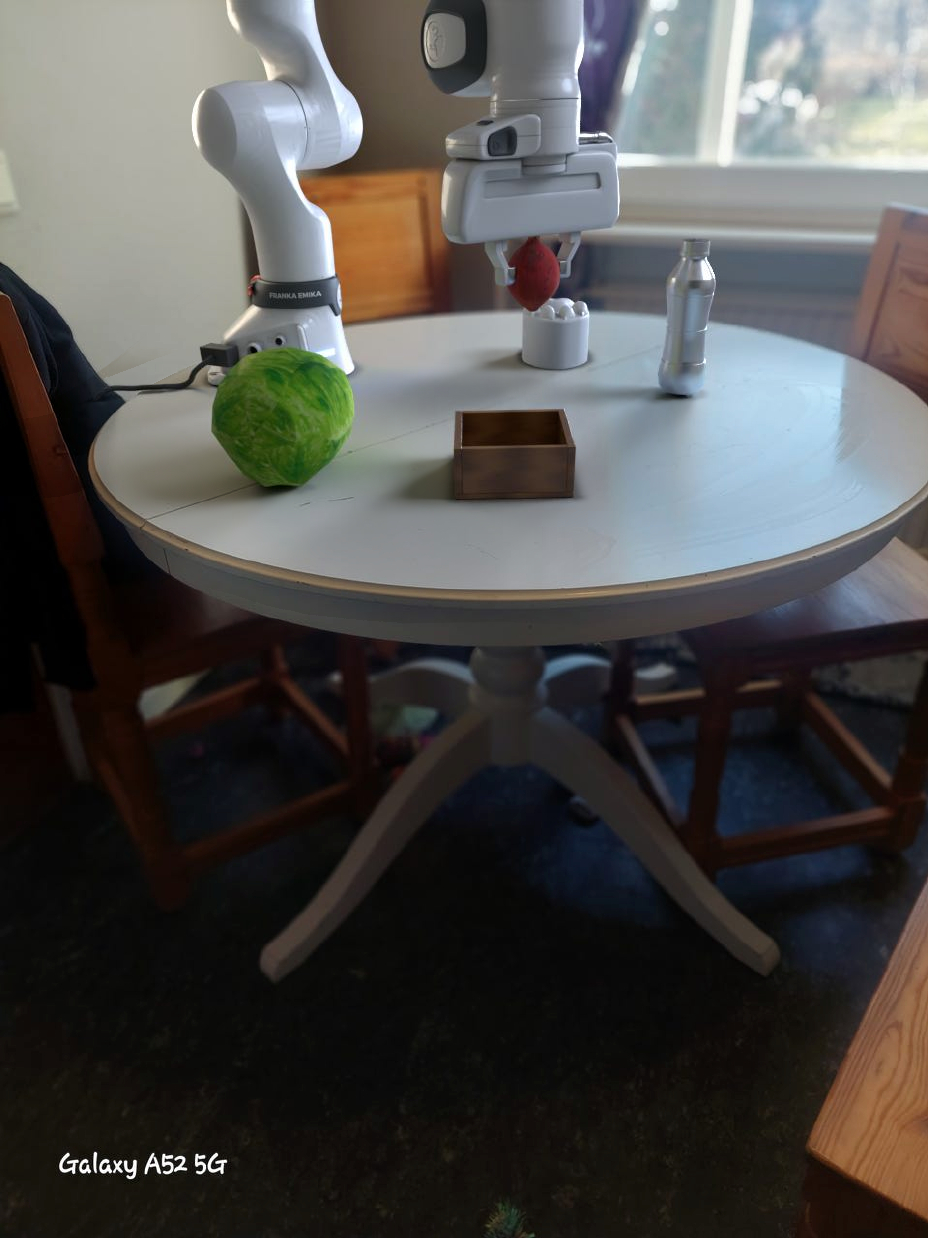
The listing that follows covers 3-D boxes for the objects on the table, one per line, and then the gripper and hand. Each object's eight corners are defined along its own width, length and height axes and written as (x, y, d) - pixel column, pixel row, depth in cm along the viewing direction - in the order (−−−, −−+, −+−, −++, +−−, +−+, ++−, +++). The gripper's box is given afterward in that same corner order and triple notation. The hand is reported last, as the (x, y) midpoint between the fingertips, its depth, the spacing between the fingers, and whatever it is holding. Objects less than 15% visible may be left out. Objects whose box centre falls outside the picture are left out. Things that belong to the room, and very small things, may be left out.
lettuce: (256, 452, 113) (370, 471, 112) (181, 480, 92) (321, 504, 90) (263, 334, 108) (383, 353, 107) (186, 335, 87) (334, 359, 86)
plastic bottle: (677, 402, 119) (693, 245, 109) (646, 390, 124) (659, 239, 114) (713, 395, 122) (733, 240, 111) (682, 383, 127) (698, 234, 117)
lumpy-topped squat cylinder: (582, 347, 146) (585, 293, 141) (591, 368, 135) (594, 310, 130) (520, 348, 146) (521, 294, 142) (524, 369, 135) (525, 311, 131)
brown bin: (455, 499, 93) (453, 449, 90) (456, 457, 103) (455, 410, 100) (573, 497, 92) (576, 446, 89) (562, 455, 103) (564, 408, 100)
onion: (556, 317, 92) (558, 235, 88) (502, 317, 93) (502, 236, 89) (561, 306, 97) (563, 228, 93) (510, 305, 98) (510, 228, 94)
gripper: (598, 129, 93) (592, 266, 100) (430, 137, 85) (436, 287, 92) (636, 129, 88) (627, 274, 96) (463, 139, 80) (467, 297, 87)
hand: (532, 281), depth 94 cm, fingers closed on onion, 6 cm apart
